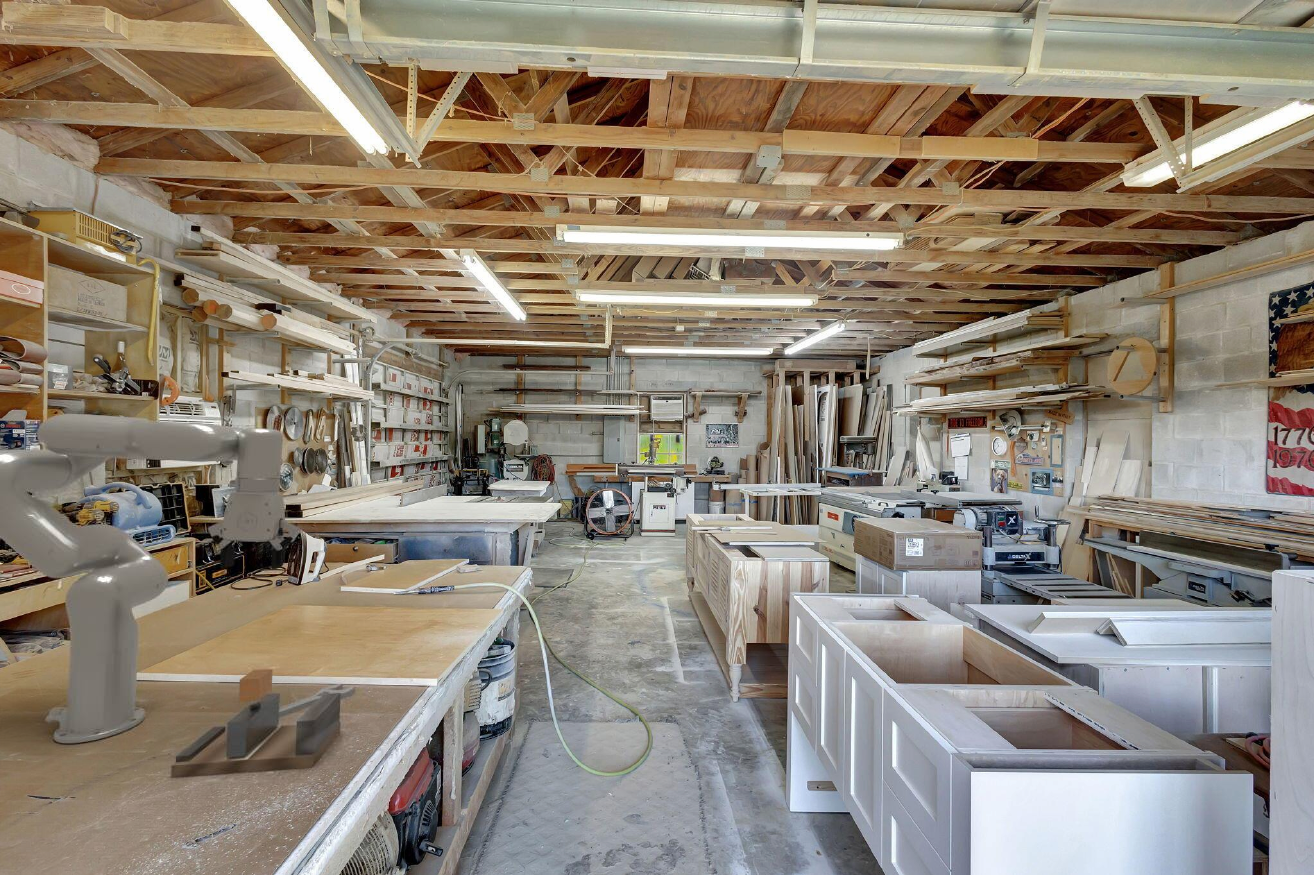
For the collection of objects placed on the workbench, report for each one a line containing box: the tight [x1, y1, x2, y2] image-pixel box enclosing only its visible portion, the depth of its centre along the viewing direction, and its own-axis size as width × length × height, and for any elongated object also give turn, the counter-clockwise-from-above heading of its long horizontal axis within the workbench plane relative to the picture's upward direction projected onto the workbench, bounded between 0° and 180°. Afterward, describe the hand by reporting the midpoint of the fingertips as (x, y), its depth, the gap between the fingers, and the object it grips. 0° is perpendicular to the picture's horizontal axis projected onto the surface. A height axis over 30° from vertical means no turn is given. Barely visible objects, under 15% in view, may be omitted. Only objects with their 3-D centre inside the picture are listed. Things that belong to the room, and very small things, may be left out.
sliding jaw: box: [226, 668, 281, 757], centre depth 99 cm, size 3×11×12 cm, turn 10°
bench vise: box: [170, 693, 342, 778], centre depth 99 cm, size 22×12×8 cm, turn 100°
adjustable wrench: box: [224, 683, 355, 729], centre depth 116 cm, size 25×6×2 cm, turn 143°
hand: (252, 567), depth 113 cm, fingers open, 9 cm apart
